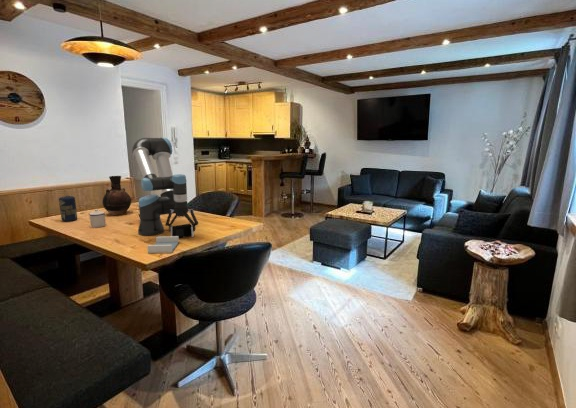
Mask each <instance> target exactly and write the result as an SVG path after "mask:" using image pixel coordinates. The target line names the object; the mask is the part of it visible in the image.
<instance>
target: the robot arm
mask: <svg viewBox="0 0 576 408" xmlns="http://www.w3.org/2000/svg"><path fill="white" fill-rule="evenodd" d="M131 153H132V156H133V158H134V159H136V162H137V165H138V168H139V170H140V173H141V176H142V178H141V181H140V183H141V184H140V185H141V190H143V191H144V192H147V191H148V192H151V191H160V190H161V193H160V195H159V194H148V195H145V196H142V197H140V198H139V199H138V209H139V225H138V229H137V234H138V235H139V236H144V237H145V236H146V237H147V236H148V237H149V236H150V237H151V236H156V235H160V234H163V233H164V232H165V227H164V224H163V222H162V221H161V220H162V219H161V216H163V215H164V216H165V215H167V219H166V222H165V226H166V227H168V231H169V232H170V236H173V226H174V225H173V224H174V222H175V221H176V220H177V217H178V218H181V217H183V218H186V220H187V221H188V222H189V224H191V225H192V226H191V231H192V236H191V237H192V238H193V237H195V236H194V235H195V231H196V226H198V225H199V222H198V219H197V217H196V214H195V213H194V209H193V208H191V209H189V205H188V193H187V190H188V188H187V175H186V174H178V173H177V174H173V171H172V167H171V161H170V158H171V155H172V154H173V146H172V143H171V140H170V139H168V137H167V138H166V137H142V138H139V139H137V140H136V141H135V142H134V143H133V145H132V149H131ZM150 156H152V159H153V160H154V161H155V164H156V170H157V173H158V176H157V173H156V170H155V168H154V166H153V163H152V160H151V158H150ZM188 212H189V213H190V215H191V217H190V215H189V214H188ZM172 214H174V216H173V215H172ZM172 216H173V218H172ZM171 218H172V220H171Z"/></svg>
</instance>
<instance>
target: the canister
mask: <svg viewBox="0 0 576 408" xmlns="http://www.w3.org/2000/svg"><path fill="white" fill-rule="evenodd" d="M58 204H59V210H60V218H61V221H62V222H72V221H76V220H77V219H78V212H77V206H76V205H77V203H76V197H75V196H71V195H65V196H60V197H59V198H58Z"/></svg>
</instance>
